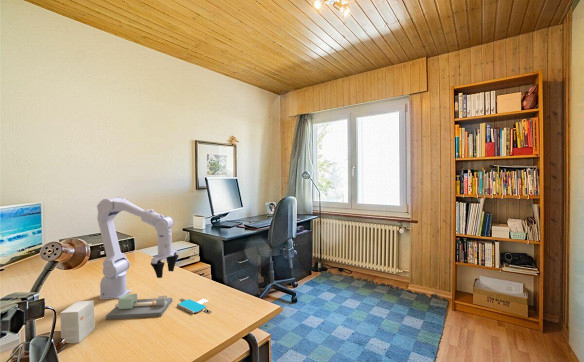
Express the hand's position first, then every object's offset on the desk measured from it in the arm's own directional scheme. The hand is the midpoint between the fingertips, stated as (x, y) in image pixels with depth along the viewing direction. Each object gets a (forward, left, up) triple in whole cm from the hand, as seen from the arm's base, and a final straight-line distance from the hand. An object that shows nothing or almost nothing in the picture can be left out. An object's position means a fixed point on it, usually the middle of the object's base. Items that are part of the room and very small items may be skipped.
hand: (165, 274), depth 118 cm
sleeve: (-10, -12, -8) cm, 17 cm away
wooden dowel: (-5, -12, -9) cm, 15 cm away
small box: (-18, -28, -10) cm, 35 cm away
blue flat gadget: (+16, -10, -11) cm, 21 cm away
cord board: (-5, -12, -10) cm, 16 cm away
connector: (+3, -12, -8) cm, 14 cm away
